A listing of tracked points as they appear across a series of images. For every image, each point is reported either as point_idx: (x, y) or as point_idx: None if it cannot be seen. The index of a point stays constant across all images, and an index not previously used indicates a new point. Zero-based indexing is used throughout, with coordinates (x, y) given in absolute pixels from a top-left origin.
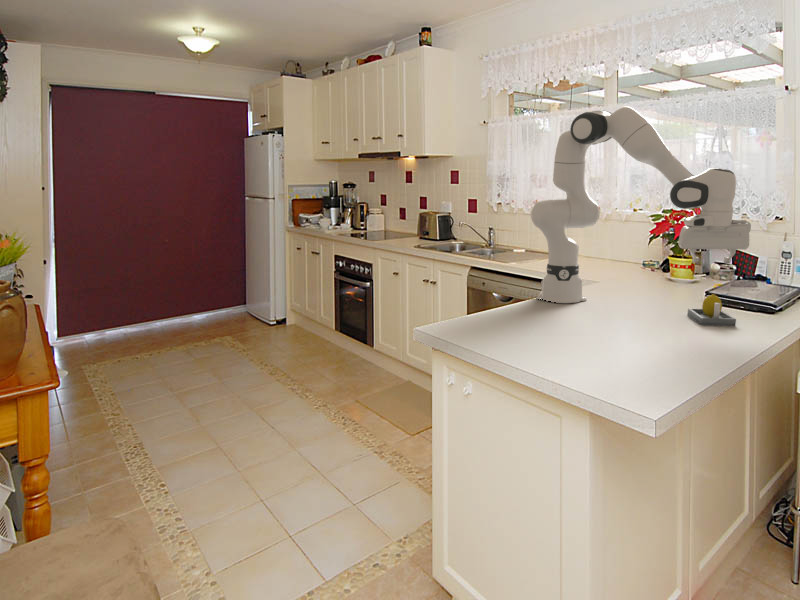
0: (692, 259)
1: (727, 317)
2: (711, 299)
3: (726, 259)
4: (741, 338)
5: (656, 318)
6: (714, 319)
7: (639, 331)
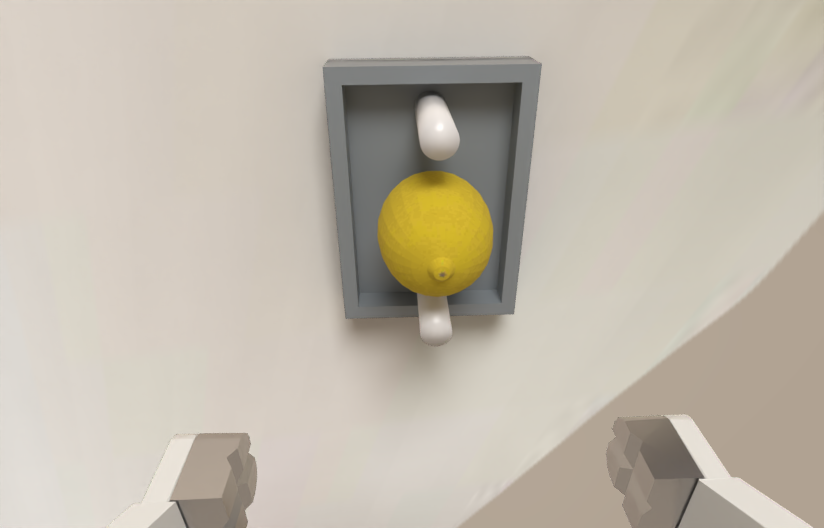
0: (161, 462)
1: (504, 240)
2: (417, 292)
3: (632, 512)
4: (450, 440)
5: (132, 169)
6: (409, 314)
7: (74, 412)
